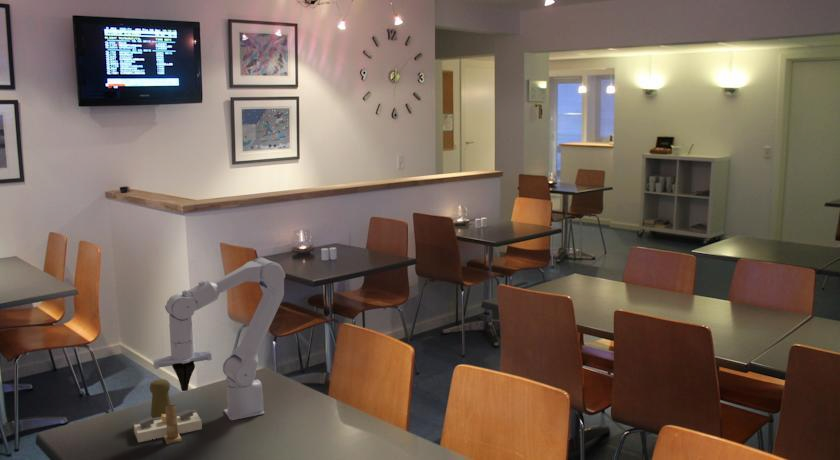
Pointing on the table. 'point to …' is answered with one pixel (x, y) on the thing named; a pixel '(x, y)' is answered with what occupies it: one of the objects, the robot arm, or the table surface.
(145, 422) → the rocker
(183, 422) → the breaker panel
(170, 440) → the oak post
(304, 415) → the table surface
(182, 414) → the rocker
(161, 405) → the cork
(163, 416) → the rocker
